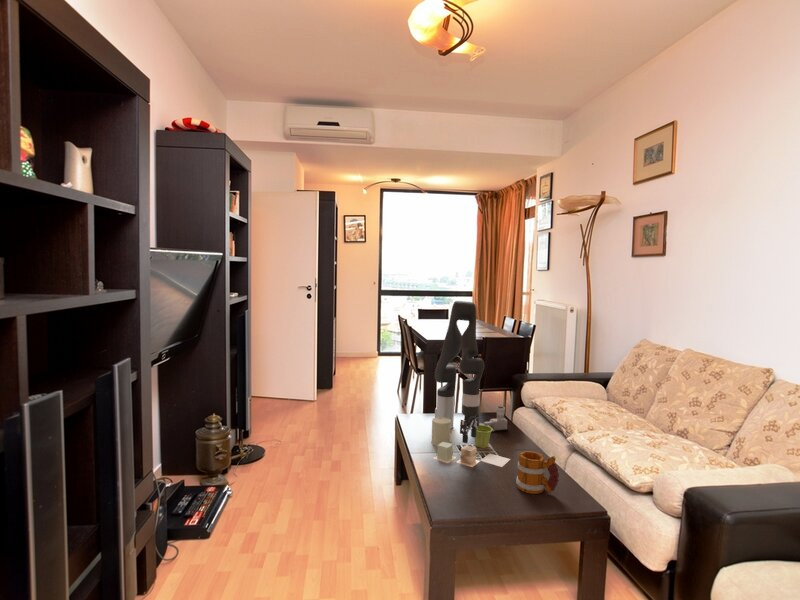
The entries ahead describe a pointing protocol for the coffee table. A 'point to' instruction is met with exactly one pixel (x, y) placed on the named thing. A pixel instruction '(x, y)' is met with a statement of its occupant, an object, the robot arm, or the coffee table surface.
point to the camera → (497, 420)
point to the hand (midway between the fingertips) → (469, 439)
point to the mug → (536, 473)
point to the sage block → (444, 451)
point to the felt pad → (495, 460)
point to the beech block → (468, 454)
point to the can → (440, 430)
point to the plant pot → (482, 436)
